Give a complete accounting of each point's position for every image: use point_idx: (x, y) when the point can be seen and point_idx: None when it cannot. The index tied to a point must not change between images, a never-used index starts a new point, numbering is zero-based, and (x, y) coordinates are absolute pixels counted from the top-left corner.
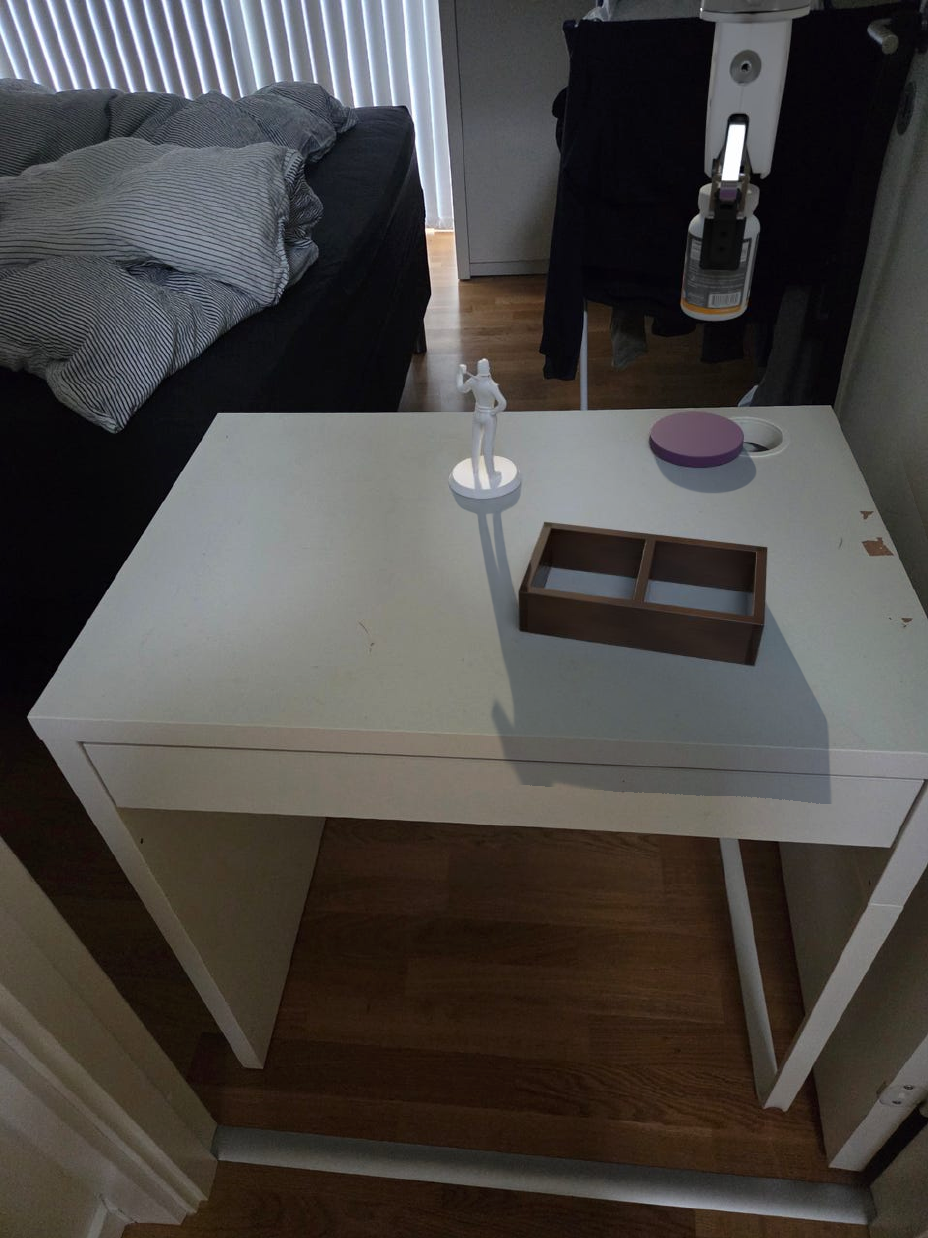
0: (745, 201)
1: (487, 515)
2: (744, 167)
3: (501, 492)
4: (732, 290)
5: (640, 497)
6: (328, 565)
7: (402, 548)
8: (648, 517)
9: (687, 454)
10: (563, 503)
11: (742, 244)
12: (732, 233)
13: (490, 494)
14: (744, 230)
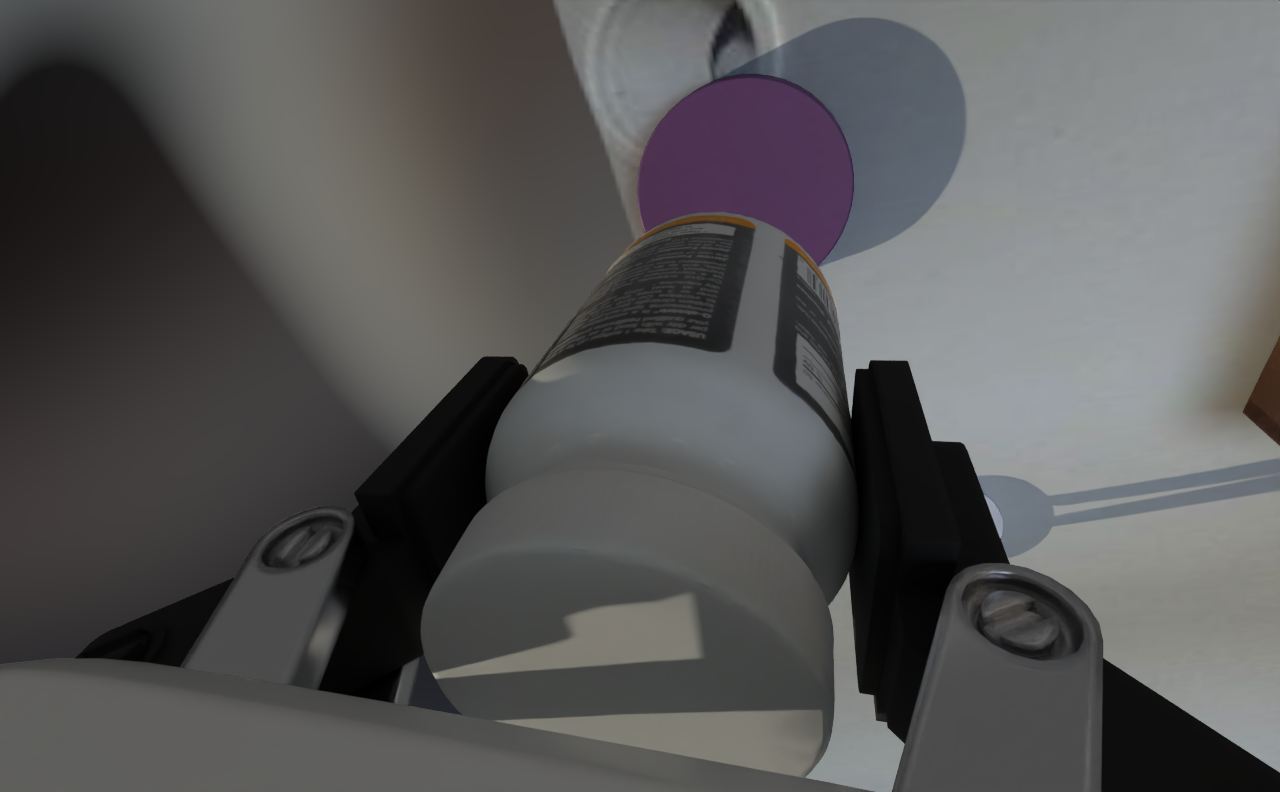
0: (1101, 710)
1: (1059, 512)
2: (315, 688)
3: (989, 505)
4: (826, 313)
5: (991, 272)
6: (1205, 676)
7: (1164, 604)
8: (1079, 245)
9: (845, 204)
10: (1017, 406)
11: (927, 428)
12: (1002, 546)
13: (998, 519)
14: (943, 484)
